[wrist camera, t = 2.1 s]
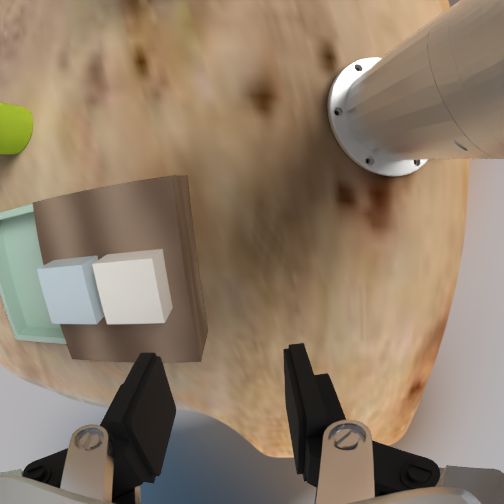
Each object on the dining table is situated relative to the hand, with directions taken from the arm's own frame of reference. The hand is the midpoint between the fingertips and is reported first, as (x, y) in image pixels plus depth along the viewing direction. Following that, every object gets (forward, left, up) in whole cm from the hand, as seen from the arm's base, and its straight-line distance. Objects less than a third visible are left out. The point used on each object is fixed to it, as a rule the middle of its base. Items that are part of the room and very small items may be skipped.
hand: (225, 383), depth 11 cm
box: (+24, 0, -19) cm, 31 cm away
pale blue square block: (+14, 0, -13) cm, 19 cm away
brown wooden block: (+11, 0, -19) cm, 22 cm away
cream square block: (+8, 0, -13) cm, 16 cm away
